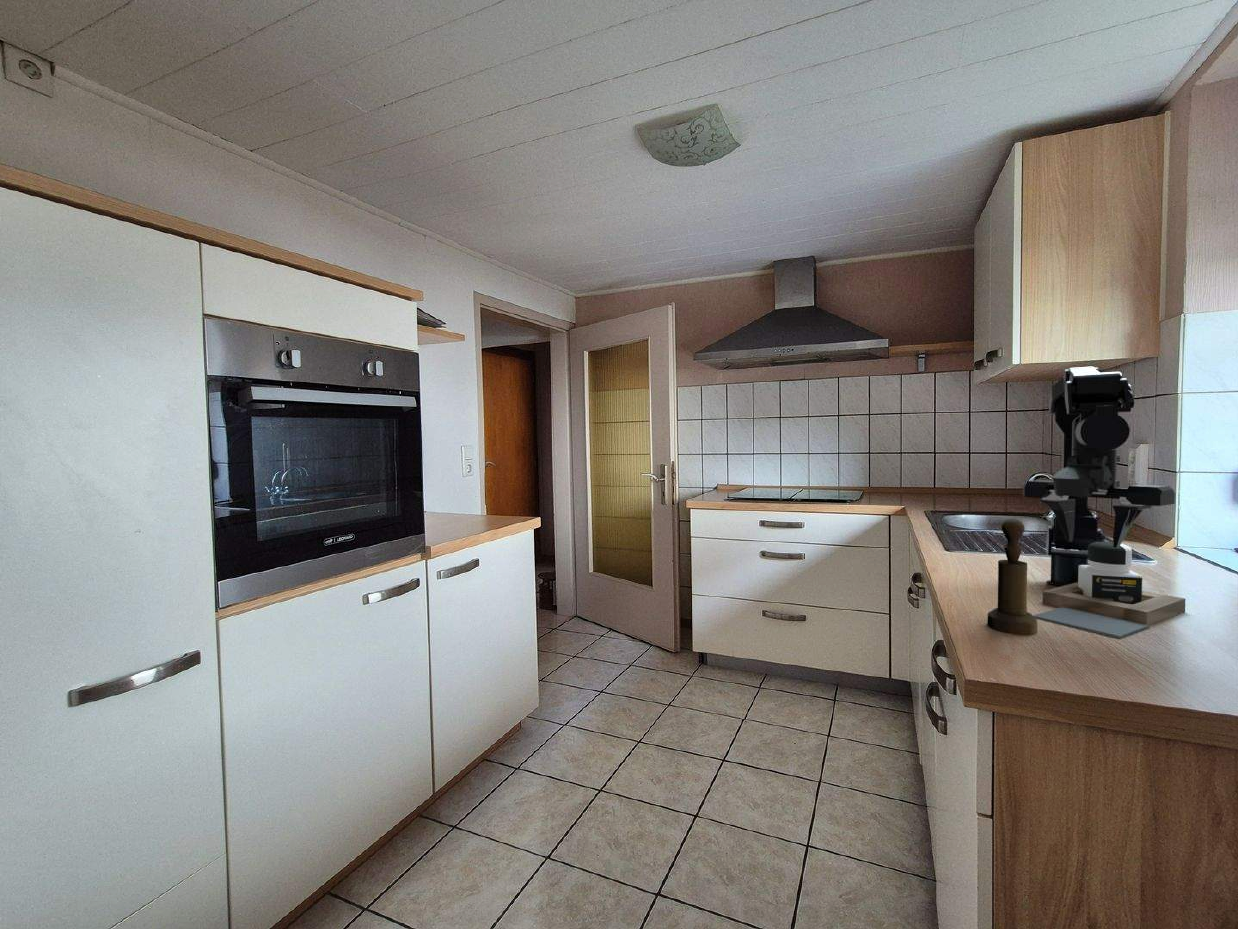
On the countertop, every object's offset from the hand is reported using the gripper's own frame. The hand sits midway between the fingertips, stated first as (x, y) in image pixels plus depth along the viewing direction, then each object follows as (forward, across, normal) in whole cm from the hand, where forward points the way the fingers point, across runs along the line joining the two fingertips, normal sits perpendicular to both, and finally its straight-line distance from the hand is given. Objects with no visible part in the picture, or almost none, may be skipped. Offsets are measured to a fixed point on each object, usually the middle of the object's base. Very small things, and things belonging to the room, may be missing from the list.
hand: (1092, 544), depth 95 cm
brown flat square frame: (+13, -2, +13) cm, 18 cm away
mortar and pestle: (+14, -5, -14) cm, 20 cm away
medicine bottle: (+14, -3, +14) cm, 20 cm away
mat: (+13, 0, 0) cm, 13 cm away
